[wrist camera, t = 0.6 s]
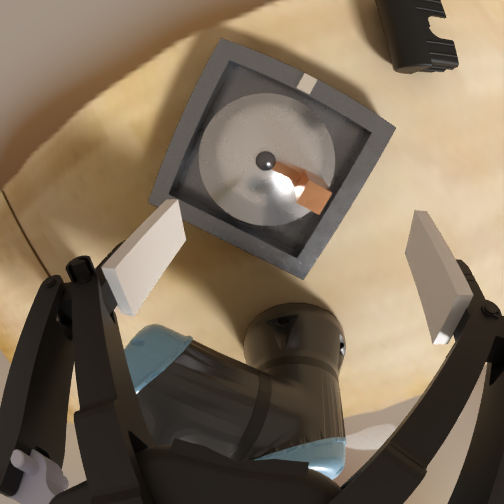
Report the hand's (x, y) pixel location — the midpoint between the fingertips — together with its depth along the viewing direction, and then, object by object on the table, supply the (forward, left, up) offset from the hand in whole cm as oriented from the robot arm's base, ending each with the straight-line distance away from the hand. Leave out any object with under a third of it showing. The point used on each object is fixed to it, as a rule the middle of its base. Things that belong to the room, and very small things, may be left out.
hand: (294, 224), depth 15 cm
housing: (0, +3, -19) cm, 19 cm away
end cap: (+22, -4, -19) cm, 30 cm away
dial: (0, +3, -17) cm, 17 cm away
